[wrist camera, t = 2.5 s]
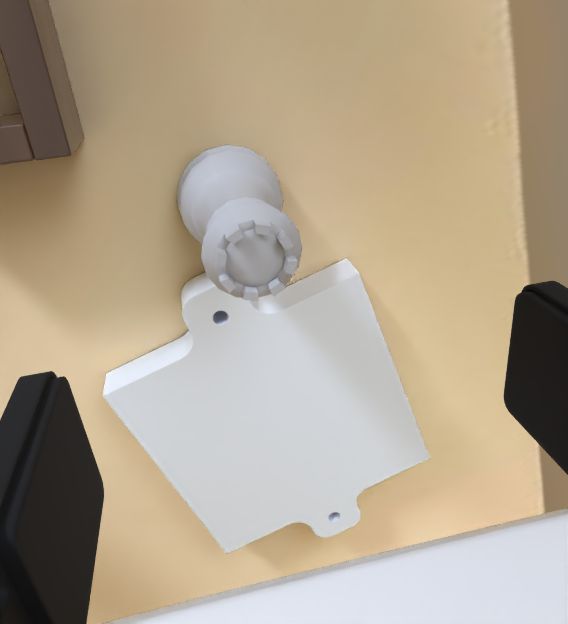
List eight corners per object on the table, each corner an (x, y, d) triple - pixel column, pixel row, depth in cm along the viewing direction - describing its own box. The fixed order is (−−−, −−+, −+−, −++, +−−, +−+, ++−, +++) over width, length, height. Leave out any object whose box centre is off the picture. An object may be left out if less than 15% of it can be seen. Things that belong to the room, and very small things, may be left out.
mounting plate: (427, 462, 33) (440, 485, 32) (240, 550, 34) (245, 577, 32) (328, 212, 24) (341, 225, 23) (76, 333, 25) (70, 355, 23)
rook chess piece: (156, 171, 22) (154, 233, 15) (253, 124, 22) (295, 165, 15) (206, 260, 24) (223, 350, 17) (294, 217, 24) (346, 290, 17)
